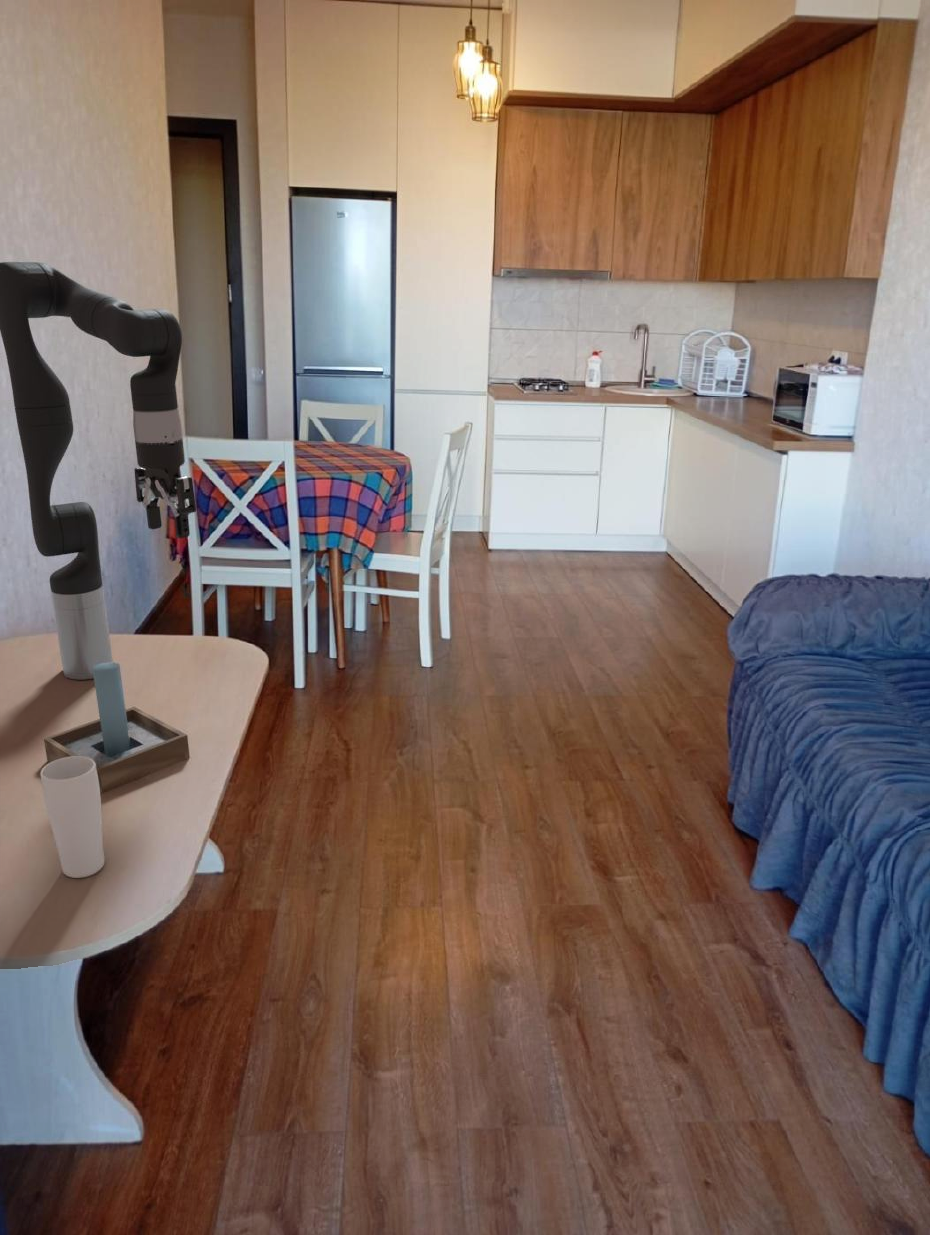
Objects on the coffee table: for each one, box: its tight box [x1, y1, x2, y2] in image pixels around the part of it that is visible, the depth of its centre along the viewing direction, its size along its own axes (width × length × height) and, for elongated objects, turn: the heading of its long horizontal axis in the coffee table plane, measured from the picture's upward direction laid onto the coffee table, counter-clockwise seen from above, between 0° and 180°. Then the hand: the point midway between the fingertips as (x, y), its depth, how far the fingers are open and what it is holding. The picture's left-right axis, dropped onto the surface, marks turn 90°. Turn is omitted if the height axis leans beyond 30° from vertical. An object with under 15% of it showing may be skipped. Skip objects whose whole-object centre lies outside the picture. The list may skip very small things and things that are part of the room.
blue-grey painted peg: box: [93, 662, 131, 758], centre depth 158 cm, size 4×4×16 cm
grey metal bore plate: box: [61, 718, 172, 767], centre depth 161 cm, size 14×14×2 cm
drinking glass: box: [39, 756, 105, 879], centre depth 130 cm, size 7×7×15 cm
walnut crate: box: [43, 706, 190, 795], centre depth 160 cm, size 16×16×4 cm
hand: (169, 532), depth 169 cm, fingers open, 8 cm apart
